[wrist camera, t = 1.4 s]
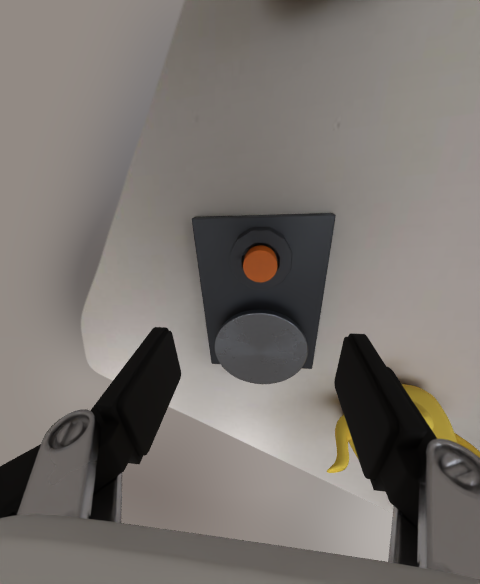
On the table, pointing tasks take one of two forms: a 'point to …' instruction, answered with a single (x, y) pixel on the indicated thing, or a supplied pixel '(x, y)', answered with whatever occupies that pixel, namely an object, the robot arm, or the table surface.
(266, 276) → the button
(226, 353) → the scale pan
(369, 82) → the table surface
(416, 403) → the teapot
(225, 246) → the scale
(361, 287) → the table surface
